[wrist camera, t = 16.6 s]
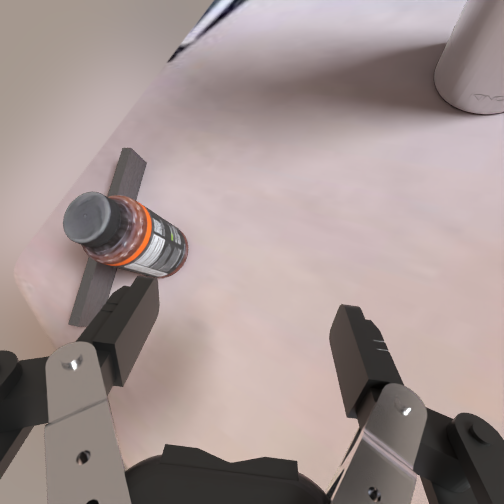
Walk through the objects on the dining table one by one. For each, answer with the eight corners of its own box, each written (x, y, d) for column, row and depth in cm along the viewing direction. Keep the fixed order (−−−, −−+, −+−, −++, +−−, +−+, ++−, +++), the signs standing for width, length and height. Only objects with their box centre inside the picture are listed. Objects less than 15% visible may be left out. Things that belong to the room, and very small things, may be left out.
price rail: (136, 162, 35) (120, 147, 32) (146, 162, 34) (131, 148, 32) (89, 323, 31) (65, 323, 28) (100, 326, 30) (77, 326, 27)
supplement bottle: (132, 252, 32) (37, 217, 21) (170, 216, 32) (94, 162, 21) (161, 290, 30) (72, 272, 19) (201, 252, 30) (135, 212, 19)
